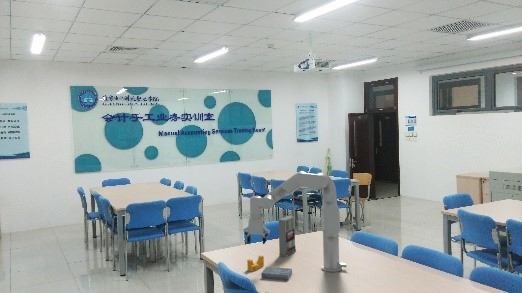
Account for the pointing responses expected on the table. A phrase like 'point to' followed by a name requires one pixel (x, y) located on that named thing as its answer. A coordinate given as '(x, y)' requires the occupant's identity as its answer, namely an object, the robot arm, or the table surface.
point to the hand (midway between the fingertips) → (256, 243)
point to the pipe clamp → (257, 265)
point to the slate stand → (276, 273)
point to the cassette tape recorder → (286, 236)
